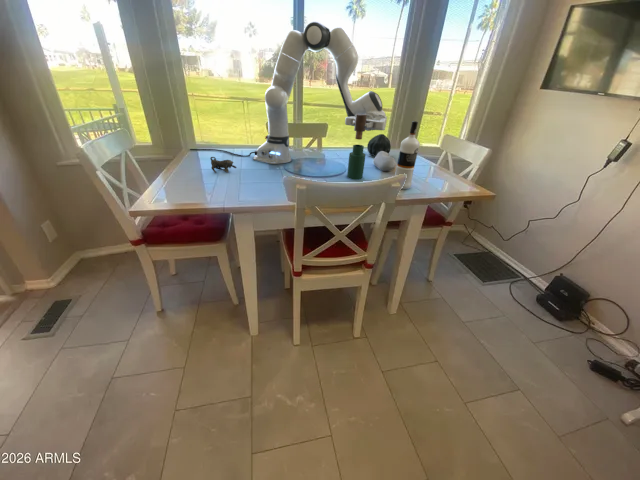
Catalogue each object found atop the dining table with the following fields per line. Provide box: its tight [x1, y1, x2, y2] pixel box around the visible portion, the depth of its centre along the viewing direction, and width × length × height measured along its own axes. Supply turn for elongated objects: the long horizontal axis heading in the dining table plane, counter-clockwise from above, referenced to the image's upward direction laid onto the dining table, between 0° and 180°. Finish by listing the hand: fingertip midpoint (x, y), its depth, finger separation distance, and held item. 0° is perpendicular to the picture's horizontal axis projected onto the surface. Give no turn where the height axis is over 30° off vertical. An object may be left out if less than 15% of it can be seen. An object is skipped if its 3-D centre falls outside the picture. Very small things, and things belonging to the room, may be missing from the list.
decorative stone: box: [372, 151, 396, 172], centre depth 156 cm, size 17×10×10 cm
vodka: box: [394, 120, 421, 190], centre depth 126 cm, size 9×9×30 cm
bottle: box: [346, 144, 366, 181], centre depth 139 cm, size 8×8×16 cm
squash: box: [366, 133, 392, 157], centre depth 177 cm, size 14×15×15 cm
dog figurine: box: [209, 156, 237, 174], centre depth 139 cm, size 12×6×7 cm, turn 95°
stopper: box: [353, 114, 367, 140], centre depth 130 cm, size 5×5×11 cm
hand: (359, 124), depth 129 cm, fingers closed on stopper, 5 cm apart
